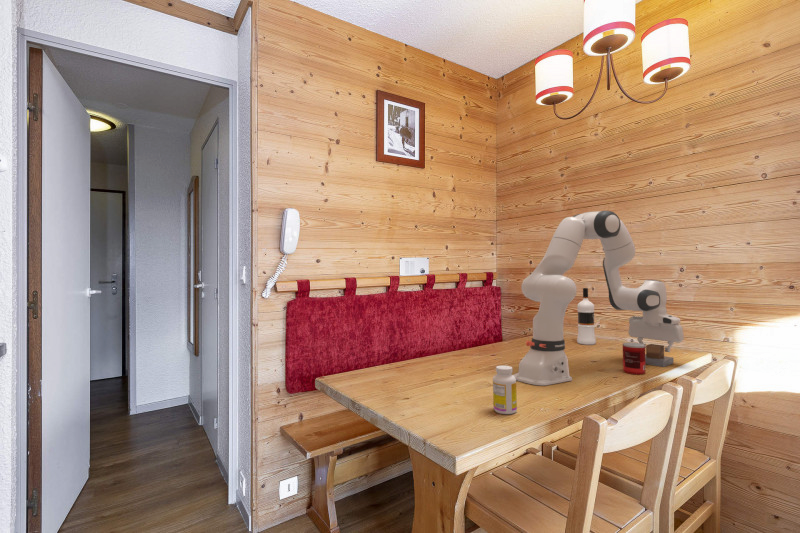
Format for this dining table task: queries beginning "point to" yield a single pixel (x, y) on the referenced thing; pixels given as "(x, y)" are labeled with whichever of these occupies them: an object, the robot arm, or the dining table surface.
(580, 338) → the vodka
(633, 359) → the canned food
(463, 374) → the dining table surface
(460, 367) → the dining table surface
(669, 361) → the slate tile
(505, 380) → the supplement bottle
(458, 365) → the dining table surface
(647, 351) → the walnut block
